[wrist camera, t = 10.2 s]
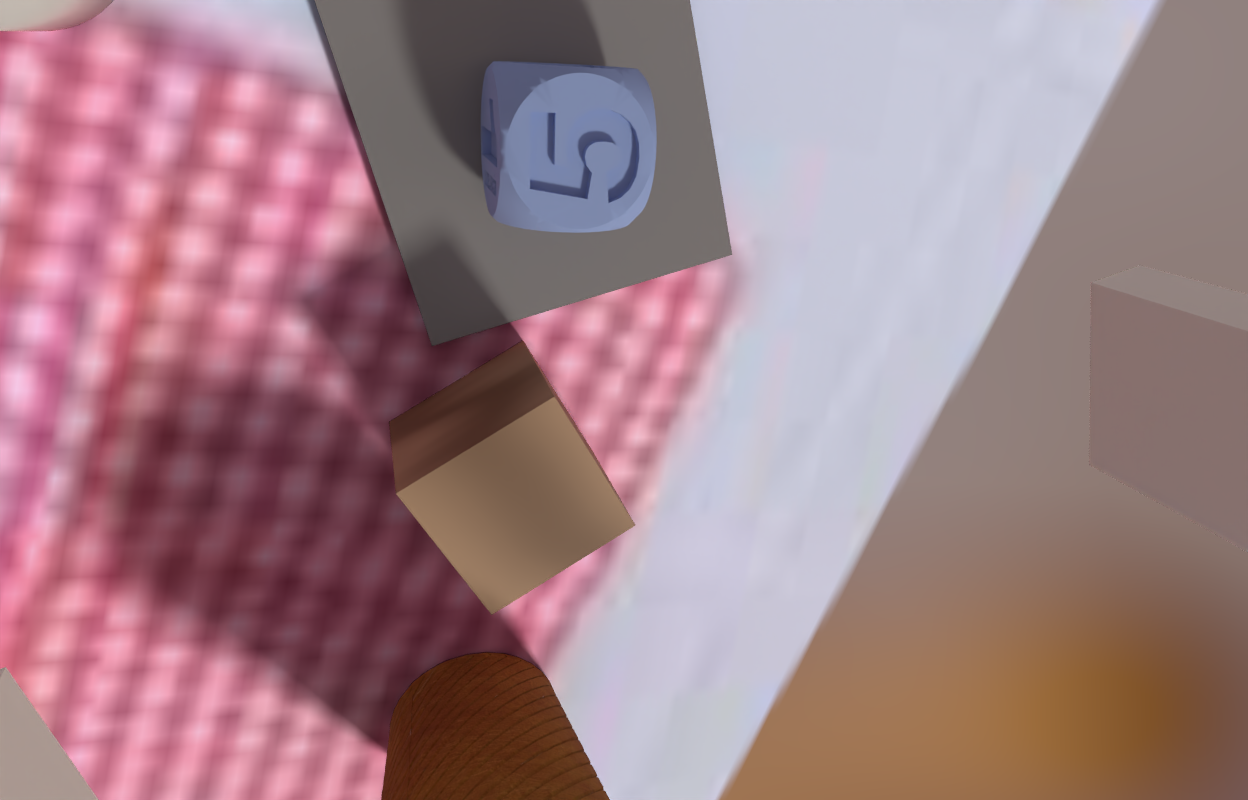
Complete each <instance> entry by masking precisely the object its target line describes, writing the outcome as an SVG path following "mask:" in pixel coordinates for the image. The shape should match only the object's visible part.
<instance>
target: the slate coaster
mask: <svg viewBox="0 0 1248 800" xmlns="http://www.w3.org/2000/svg"><path fill="white" fill-rule="evenodd" d="M315 3H316V6H317V9H318V12H319V15H320V18H321V21H322V24H323V27H324V30H325V33H326V36H327V39H328V42H329V45H330V48H331V50H332V53H333V56H334V59H335V62H336V65H337V68H338V71H339V74H340V77H341V80H342V83H343V86H344V89H345V92H346V95H347V97H348V100H349V103H350V106H351V109H352V112H353V115H354V118H355V121H356V124H357V127H358V130H359V133H360V136H361V139H362V142H363V145H364V147H365V150H366V153H367V156H368V159H369V162H370V165H371V168H372V171H373V174H374V177H375V180H376V183H377V186H378V189H379V192H380V195H381V197H382V200H383V203H384V206H385V209H386V212H387V215H388V218H389V221H390V224H391V227H392V230H393V233H394V236H395V239H396V242H397V245H398V247H399V250H400V253H401V256H402V259H403V262H404V265H405V268H406V271H407V274H408V277H409V280H410V283H411V286H412V289H413V292H414V295H415V297H416V300H417V303H418V306H419V309H420V312H421V315H422V318H423V321H424V324H425V327H426V330H427V333H428V336H429V339H430V342H431V345H432V346H434V345H437V344H441V343H444V342H447V341H450V340H454V339H457V338H460V337H463V336H467V335H470V334H473V333H477V332H480V331H483V330H486V329H490V328H493V327H496V326H500V325H503V324H506V323H509V322H513V321H516V320H519V319H523V318H526V317H529V316H532V315H536V314H539V313H542V312H545V311H549V310H552V309H555V308H559V307H562V306H565V305H568V304H572V303H575V302H578V301H582V300H585V299H588V298H591V297H595V296H598V295H601V294H604V293H608V292H611V291H614V290H618V289H621V288H624V287H627V286H631V285H634V284H637V283H641V282H644V281H647V280H650V279H654V278H657V277H660V276H663V275H667V274H670V273H673V272H677V271H680V270H683V269H686V268H690V267H693V266H696V265H700V264H703V263H706V262H709V261H713V260H716V259H719V258H723V257H726V256H729V255H732V251H731V245H730V239H729V233H728V227H727V221H726V215H725V209H724V203H723V197H722V191H721V185H720V179H719V173H718V167H717V161H716V155H715V149H714V143H713V137H712V131H711V125H710V119H709V113H708V107H707V101H706V95H705V89H704V83H703V77H702V71H701V65H700V59H699V53H698V47H697V41H696V35H695V29H694V23H693V17H692V11H691V5H690V0H315ZM493 61H511V62H538V63H560V64H579V65H596V66H612V67H625V68H635V69H638V70H639V71H640V72H641V73H642V74H643V76H644V77H645V78H646V80H647V82H648V84H649V87H650V90H651V93H652V97H653V102H654V108H655V116H656V132H657V145H656V162H655V171H654V178H653V183H652V188H651V192H650V195H649V198H648V201H647V203H646V206H645V208H644V209H643V211H642V212H641V213H640V214H639V215H638V216H637V217H636V218H635V219H634V220H633V221H632V222H631V223H630V224H629V225H628V226H626V227H623V228H620V229H616V230H610V231H601V232H580V233H571V232H548V231H537V230H529V229H523V228H517V227H513V226H509V225H505V224H502V223H500V222H498V221H496V220H495V219H494V218H493V217H492V216H491V215H490V213H489V211H488V208H487V203H486V198H485V192H484V184H483V175H482V161H481V100H482V88H483V81H484V75H485V72H486V69H487V67H488V66H489V65H490V64H491V63H492V62H493Z"/></svg>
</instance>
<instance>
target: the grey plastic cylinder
mask: <svg viewBox="0 0 1248 800" xmlns="http://www.w3.org/2000/svg"><path fill="white" fill-rule="evenodd" d="M112 2H113V0H0V31H55V30H61V29H67V28H70V27H74V26H77V25H80V24H82V23H84V22H86V21H88V20H90V19H92V18H94V17H95V16H96V15H98V14H99V13H101V12H102V11H103V10H104V9H105V8H107V7H108V6H109V5H110V4H111V3H112Z"/></svg>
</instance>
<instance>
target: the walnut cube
mask: <svg viewBox="0 0 1248 800" xmlns="http://www.w3.org/2000/svg"><path fill="white" fill-rule="evenodd" d="M389 426H390V437H391V447H392V458H393V469H394V479H395V490H396V494H397V496H398V497H399V498H400V499H401V501H402V502H403V503H404V505H405V506H406V507H407V508H408V510H409V511H410V512H411V513H412V515H413V516H414V517H415V518H416V520H417V521H418V522H419V524H420V525H421V526H422V527H423V529H424V530H425V531H426V532H427V534H428V535H429V536H430V537H431V539H432V540H433V541H434V542H435V544H436V545H437V546H438V548H439V549H440V550H441V551H442V553H443V554H444V555H445V556H446V558H447V559H448V560H449V561H450V563H451V564H452V565H453V567H454V568H455V569H456V570H457V572H458V573H459V574H460V575H461V577H462V578H463V579H464V580H465V582H466V583H467V584H468V586H469V587H470V588H471V589H472V591H473V592H474V593H475V594H476V596H477V597H478V598H479V599H480V601H481V602H482V603H483V604H484V606H485V607H486V608H487V610H488V611H489V612H490V613H491V615H492V614H494V613H496V612H497V611H499V610H500V609H502V608H504V607H505V606H507V605H508V604H510V603H512V602H513V601H515V600H516V599H518V598H520V597H521V596H523V595H524V594H526V593H528V592H529V591H531V590H532V589H534V588H536V587H537V586H539V585H540V584H542V583H544V582H545V581H547V580H548V579H550V578H552V577H553V576H555V575H556V574H558V573H560V572H561V571H563V570H565V569H566V568H568V567H569V566H571V565H573V564H574V563H576V562H577V561H579V560H581V559H582V558H584V557H585V556H587V555H589V554H590V553H592V552H593V551H595V550H597V549H598V548H600V547H601V546H603V545H605V544H606V543H608V542H609V541H611V540H613V539H614V538H616V537H617V536H619V535H621V534H622V533H624V532H625V531H627V530H629V529H630V528H632V527H633V526H635V524H634V522H633V520H632V519H631V517H630V515H629V513H628V512H627V510H626V508H625V507H624V505H623V503H622V501H621V500H620V498H619V496H618V494H617V493H616V491H615V489H614V487H613V486H612V484H611V482H610V481H609V479H608V477H607V475H606V474H605V472H604V470H603V468H602V467H601V465H600V463H599V461H598V460H597V458H596V456H595V455H594V453H593V451H592V450H591V448H590V447H589V445H588V443H587V442H586V440H585V439H584V437H583V435H582V434H581V432H580V431H579V429H578V427H577V426H576V424H575V423H574V421H573V419H572V418H571V416H570V415H569V413H568V411H567V410H566V408H565V407H564V405H563V404H562V402H561V400H560V399H559V397H558V396H557V394H556V392H555V391H554V389H553V388H552V386H551V384H550V383H549V381H548V380H547V378H546V376H545V375H544V373H543V372H542V370H541V368H540V367H539V365H538V364H537V362H536V360H535V359H534V357H533V356H532V354H531V352H530V351H529V349H528V348H527V346H526V344H525V343H524V341H521V342H520V343H518V344H516V345H515V346H513V347H512V348H510V349H508V350H507V351H505V352H503V353H502V354H500V355H498V356H497V357H495V358H493V359H492V360H490V361H488V362H487V363H485V364H484V365H482V366H480V367H479V368H477V369H475V370H474V371H472V372H470V373H469V374H467V375H465V376H464V377H462V378H460V379H459V380H457V381H456V382H454V383H452V384H451V385H449V386H447V387H446V388H444V389H442V390H441V391H439V392H437V393H436V394H434V395H432V396H431V397H429V398H428V399H426V400H424V401H423V402H421V403H419V404H418V405H416V406H414V407H413V408H411V409H409V410H408V411H406V412H404V413H403V414H401V415H400V416H398V417H396V418H395V419H393V420H391V421H390V422H389Z"/></svg>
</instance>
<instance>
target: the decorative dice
mask: <svg viewBox="0 0 1248 800" xmlns="http://www.w3.org/2000/svg"><path fill="white" fill-rule="evenodd" d="M656 145H657V132H656V116H655V108H654V102H653V97H652V93H651V90H650V87H649V84H648V82H647V80H646V78H645V77H644V76H643V74H642V73H641V72H640V71H639V70H638V69H635V68H625V67H612V66H596V65H579V64H560V63H538V62H511V61H493V62H492V63H491V64H490V65H489V66H488V67H487V69H486V72H485V75H484V81H483V88H482V100H481V161H482V175H483V184H484V192H485V198H486V203H487V208H488V211H489V213H490V215H491V216H492V217H493V218H494V219H495V220H496V221H498V222H500V223H502V224H505V225H509V226H513V227H517V228H523V229H529V230H537V231H548V232H571V233H580V232H601V231H610V230H616V229H620V228H623V227H626V226H628V225H629V224H630V223H631V222H632V221H633V220H634V219H635V218H636V217H637V216H638V215H639V214H640V213H641V212H642V211H643V209H644V208H645V206H646V203H647V201H648V198H649V195H650V192H651V188H652V183H653V178H654V171H655V162H656Z"/></svg>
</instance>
